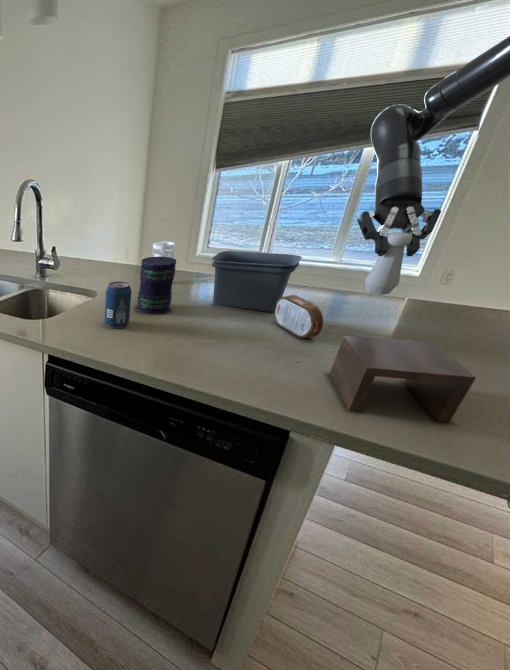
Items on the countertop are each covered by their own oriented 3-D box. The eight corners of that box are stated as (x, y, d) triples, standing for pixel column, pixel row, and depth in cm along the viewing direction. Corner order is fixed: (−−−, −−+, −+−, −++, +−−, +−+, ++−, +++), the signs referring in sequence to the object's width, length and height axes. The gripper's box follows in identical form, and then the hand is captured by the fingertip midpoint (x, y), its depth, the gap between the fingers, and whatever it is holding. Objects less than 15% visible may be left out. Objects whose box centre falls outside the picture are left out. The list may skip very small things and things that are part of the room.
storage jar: (166, 316, 120) (172, 265, 112) (132, 312, 125) (137, 263, 117) (173, 305, 127) (179, 257, 119) (141, 302, 132) (145, 255, 124)
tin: (318, 342, 98) (329, 309, 93) (305, 343, 98) (316, 311, 94) (280, 320, 111) (288, 290, 106) (268, 321, 111) (276, 291, 107)
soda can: (114, 318, 122) (117, 279, 116) (133, 324, 117) (137, 283, 111) (99, 325, 118) (100, 285, 112) (118, 331, 113) (121, 289, 107)
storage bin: (200, 305, 125) (208, 259, 117) (215, 291, 134) (224, 247, 127) (280, 317, 112) (295, 266, 105) (291, 301, 122) (305, 253, 115)
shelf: (414, 382, 80) (435, 341, 75) (449, 422, 69) (476, 377, 65) (329, 374, 85) (343, 335, 81) (348, 410, 74) (367, 367, 70)
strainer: (149, 285, 146) (153, 242, 138) (149, 279, 152) (153, 238, 144) (170, 285, 144) (175, 242, 136) (169, 279, 149) (174, 237, 142)
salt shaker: (389, 297, 90) (414, 237, 83) (357, 292, 94) (378, 234, 87) (397, 291, 93) (422, 232, 86) (366, 286, 97) (388, 230, 90)
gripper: (366, 177, 90) (364, 244, 86) (451, 172, 84) (452, 244, 81) (351, 199, 97) (348, 263, 93) (429, 196, 91) (429, 263, 88)
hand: (396, 254), depth 87 cm, fingers closed on salt shaker, 4 cm apart
